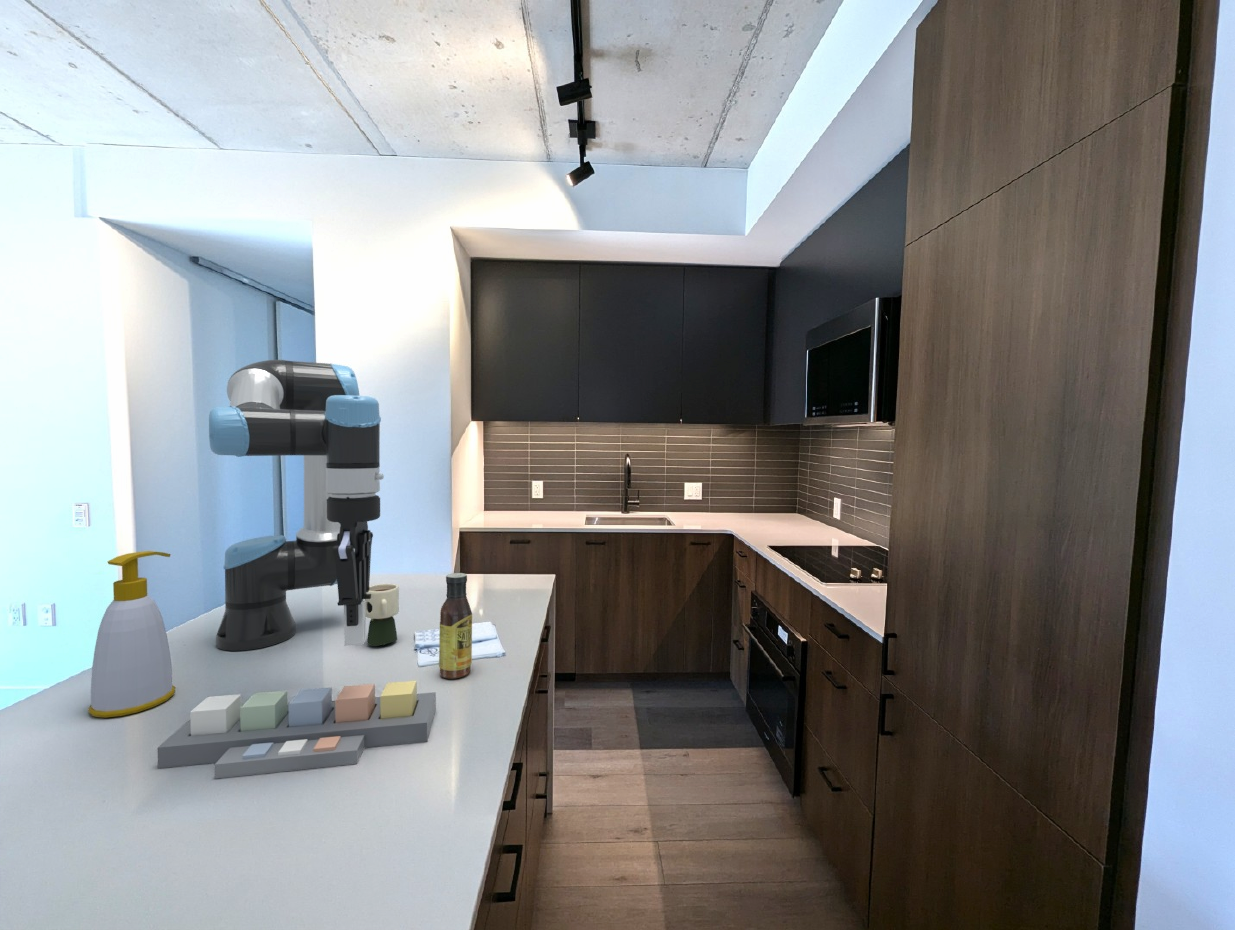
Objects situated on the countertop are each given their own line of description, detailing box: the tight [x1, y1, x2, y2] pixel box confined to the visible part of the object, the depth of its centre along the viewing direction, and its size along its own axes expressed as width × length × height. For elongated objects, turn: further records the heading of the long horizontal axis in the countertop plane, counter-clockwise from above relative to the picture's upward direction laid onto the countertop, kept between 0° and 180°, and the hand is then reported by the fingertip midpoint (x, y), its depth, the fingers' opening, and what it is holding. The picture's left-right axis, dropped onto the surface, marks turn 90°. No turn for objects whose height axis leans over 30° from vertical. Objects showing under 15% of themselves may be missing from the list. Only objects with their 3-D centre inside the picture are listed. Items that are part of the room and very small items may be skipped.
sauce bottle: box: [438, 572, 473, 680], centre depth 104 cm, size 7×6×20 cm
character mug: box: [364, 583, 400, 647], centre depth 119 cm, size 11×7×13 cm, turn 30°
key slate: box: [288, 686, 333, 727], centre depth 82 cm, size 5×5×4 cm
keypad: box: [156, 691, 437, 780], centre depth 80 cm, size 14×36×3 cm, turn 102°
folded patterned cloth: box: [413, 621, 507, 668], centre depth 119 cm, size 19×20×2 cm
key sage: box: [240, 690, 289, 732], centre depth 80 cm, size 5×5×4 cm
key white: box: [189, 693, 243, 736], centre depth 79 cm, size 5×5×4 cm
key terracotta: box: [334, 683, 376, 723], centre depth 83 cm, size 5×5×4 cm
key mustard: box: [380, 680, 418, 719], centre depth 84 cm, size 5×5×4 cm
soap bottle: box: [88, 550, 176, 719], centre depth 91 cm, size 11×12×26 cm
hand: (355, 642), depth 83 cm, fingers closed
